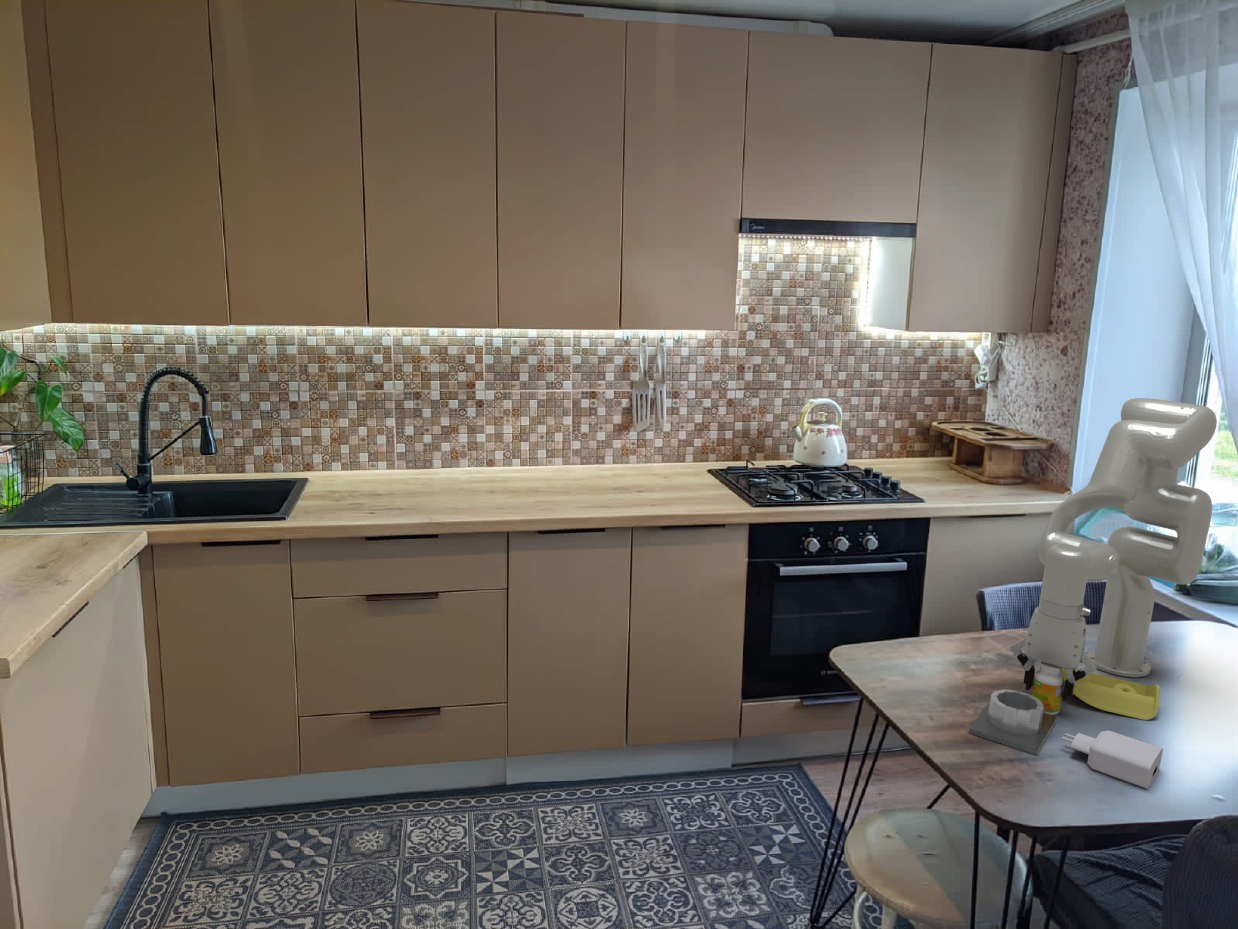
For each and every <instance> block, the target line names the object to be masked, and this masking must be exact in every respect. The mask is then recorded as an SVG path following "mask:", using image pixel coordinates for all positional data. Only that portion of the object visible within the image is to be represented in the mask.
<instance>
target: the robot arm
mask: <svg viewBox="0 0 1238 929" xmlns="http://www.w3.org/2000/svg"><path fill="white" fill-rule="evenodd" d="M1217 422H1218V420H1217V416H1216V413H1215V412H1214V410H1213V409H1212V408H1210V407H1208V406H1204V405H1200V404H1196V403H1195V404H1194V403H1188V402H1179V401H1171V400H1168V399H1167V400H1165V399H1157V398H1148V397H1136V398H1135V397H1134V398H1130V399H1129V400H1125V402H1124V403H1123V405H1122V407H1121V409H1120V421H1118V422H1115V423H1114V424H1113V425H1112V426H1111V428H1110V429H1109V431H1108V434H1107V436H1106V440H1104V444H1103V447H1102V449H1101V452H1100V454H1099V457H1098V459H1097V462H1096V465H1095V467H1094V470H1093V471H1092V475H1091V477H1090V479H1089V482H1088V484H1087V485H1086V486H1085V487H1083V488H1082V489H1080V490H1078V491H1077V492H1075V493H1072V495H1070V496H1068V497H1067V498H1065V500H1063V502H1061V503H1060V504H1059V505H1058V506H1057V507H1056V508H1055V509H1054V511H1052V513H1051V514H1050V516H1049V518H1048V521H1047V523H1046V526H1045V528H1044V531H1043V533H1042V535H1041V538H1040V542H1039V544H1038V551H1037V553H1038V554H1037V555H1038V558H1039V560H1040V562H1041V563H1042V564H1043V565H1044V568H1043V570H1044V571H1043V575H1042V576H1043V577H1042V582H1041V588H1040V589H1041V591H1040V596H1039V603H1038V606H1037V607H1035V608H1034V610H1033V612H1032V615H1031V619H1030V621H1029V622H1030V623H1029V626H1028V629H1027V634H1026V636H1025V637H1024V638H1022V639H1020V640H1019V641H1016V642H1015V643H1013V644H1012V645H1011V646H1010V651H1011V652H1012V653H1013V654H1014V656H1016V659H1017V660H1018V662H1020V664H1021V665H1022V668H1023V670H1024V675H1023V682H1022V683H1023V684H1025V690H1026V691H1030V690H1031V689H1032V688H1033V683H1034V676H1035V673H1036V667H1035V665H1034V664H1035V663H1036V661H1037V662H1040V663H1041V662H1044V663H1048V664H1051V665H1055V666H1059V667H1063V668H1065V671H1066V674H1067V680H1066V681H1065V684H1064V690H1063V694H1062V700H1061V701H1064V702H1067V701H1068V698H1069V697H1070V698H1072V696H1074V695H1073V690H1074V684H1075V681H1077V680H1079V679H1082V678H1084V677H1085V676H1087V675H1089V674H1091V673H1095V672H1096V671H1097V669H1098V670H1100V671H1102V672H1106V673H1108V674H1111V675H1114V674H1115V676H1119V677H1120V676H1121V677H1125V678H1143V677H1146V676H1148V675H1149V674H1151V667H1152V666H1151V664H1150V663H1149V662H1147V661H1146V660H1145V656H1146V650H1147V644H1148V639H1149V638H1148V637H1149V632H1150V628H1151V622H1152V616H1153V610H1154V605H1155V598H1156V594H1155V589H1154V585H1153V584H1152V582H1151V580H1150V579H1151V578H1154V579H1157V580H1161V581H1163V582H1164V581H1165V582H1169V583H1172V584H1176V585H1189V584H1191V583H1193V581H1195V579H1196V578H1197V577H1198V574H1199V572H1200V569H1201V565H1202V561H1203V558H1204V557H1203V556H1204V552H1205V548H1206V543H1207V539H1208V535H1209V531H1210V524H1211V523H1212V522H1211V520H1212V515H1213V502H1212V498H1211V497H1210V495H1209V494H1208V493H1207V492H1206V491H1204V490H1202V489H1200V488H1196V487H1192V486H1187V485H1181V484H1178V482H1177V479H1178V473H1179V469H1180V468H1182V467H1184V466H1185V465H1187V464H1188V463H1189V462H1190V461H1191V460H1193V458H1195V456H1197V454H1198V453H1200V451H1202V450H1203V449H1204V448H1205V447H1206V445H1208V444H1209V443H1210V441H1211V440H1212V438H1213V437H1214V434H1215V432H1216V428H1217V424H1218V423H1217ZM1120 506H1124V512H1125V515H1126V517H1128V518H1129V519H1130V520H1133V521H1135V522H1137V523H1138V522H1139V523H1141V524H1145V525H1150V526H1155V527H1159V528H1163V529H1168V530H1172V531H1175V532H1176V536H1173V535H1168V534H1164V533H1161V532H1157V531H1152V530H1148V529H1145V528H1139V527H1133V526H1125V527H1124V526H1123V527H1120V528H1117V529H1115V530H1114V531H1113V532H1112V533H1111V534H1110V536H1109V538H1108V541H1107V543H1103V542H1100V541H1098V540H1097V541H1096V540H1093V539H1088V538H1086V537H1085V538H1084V537H1081V536H1078V535H1073V534H1070V533H1067V531H1068V529H1069V527H1070V525H1071V524H1072V523H1073V522H1074V521H1075V520H1077V519H1078V518H1079V517H1081V516H1082V515H1085V514H1088V513H1090V512H1093V511H1097V510H1102V509H1106V508H1107V509H1108V508H1113V507H1120ZM1105 580H1106V584H1105V590H1104V595H1103V596H1104V598H1103V604H1102V609H1101V615H1100V620H1099V627H1098V628H1099V629H1098V633H1097V639H1096V646H1095V648H1094V649H1091V650H1089V651H1088V652H1087V653H1086V652H1085V648H1086V647H1085V646H1086V635H1087V634H1086V633H1087V631H1086V630H1087V628H1086V627H1087V625H1086V624H1087V623H1086V618H1085V616H1088V617H1089V616H1090V615H1091V610H1092V609H1091V608H1087V607H1086V606H1085V605H1084V604H1085V602H1084V599H1085V593H1086V586H1087V583H1091V582H1092V583H1093V582H1094V583H1095V582H1103V581H1105ZM1022 648H1024V650H1022ZM1081 663H1082V664H1083V665H1084V666H1085V667H1084V668H1080V669H1078V668H1079V667H1080V664H1081ZM1076 669H1077V670H1079V671H1076Z"/></svg>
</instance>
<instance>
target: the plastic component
mask: <svg viewBox="0 0 1238 929" xmlns="http://www.w3.org/2000/svg"><path fill="white" fill-rule="evenodd" d="M1079 670H1080V669H1078V668H1077V669H1076V671H1079ZM1061 675H1062V676H1063V677H1064V684H1065V681H1066V680H1067V674H1066V671H1065V668H1062V673H1061ZM1160 688H1161V687H1160V685H1159V684H1142V683H1138V682H1134V681H1129V680H1125V679H1121V678H1120V679H1119V678H1116V677H1111V676H1108V675H1103V674H1098V673H1095V672H1093V673H1091V674H1089V675H1087V676H1085V677H1084V678H1082V679H1079V680H1077V681H1075V684H1074V690H1073V695H1072V696H1075V697H1077V698H1078V699H1079V700H1080V701H1083V702H1084V703H1085V704H1087V705H1089V706H1091V707H1094V708H1096V709H1099V710H1101V711H1105V712H1108V713H1114V714H1118V715H1121V716H1126V717H1131V718H1136V719H1139V720H1142V719H1143V720H1144V721H1147V720H1148V721H1149V720H1152V719H1153V718H1155V717H1156V715H1157V714H1158V713H1159V706H1160V705H1159V704H1160V692H1161V690H1160ZM1063 690H1064V687H1063Z"/></svg>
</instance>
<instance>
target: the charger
mask: <svg viewBox="0 0 1238 929" xmlns="http://www.w3.org/2000/svg"><path fill="white" fill-rule="evenodd" d="M1061 739H1062V740H1064V741H1067V742H1070V743H1071V745H1070V749H1071V750H1075V751H1078V752H1081V753H1084V754H1086V755H1088V757H1087V762H1086V763H1087V765H1088V766H1089V767H1090V769H1092V770H1095V771H1097V772H1100V773H1102V774H1105V775H1108V776H1111V777H1113V778H1116V779H1119V780H1122V781H1125V782H1128V783H1130V784H1132V785H1136V786H1138V787H1141V788H1144V789H1147V790H1148V789H1149V787H1150V785H1151V784H1152V782H1153V780H1154V779H1155V778H1156V776H1157V774H1158V772H1159V771H1160V766H1161V762H1162V757H1163V750H1164V749H1163V747H1159V746H1157V745H1153V744H1150V743H1147V742H1144V741H1142V740H1137V739H1136V738H1133V737H1129V736H1127V735H1124V734H1120V733H1118V732H1115V731H1112V730H1109V729H1108V730H1103V731H1100V732H1099V733H1098V735H1097V736H1096V737H1095V738H1094V737H1092V736H1089V735H1085V734H1083V733H1080V732H1078V733H1077V734H1076V735H1072V734H1069V733H1064V736H1061Z"/></svg>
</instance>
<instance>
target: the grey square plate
mask: <svg viewBox="0 0 1238 929" xmlns="http://www.w3.org/2000/svg"><path fill="white" fill-rule="evenodd" d="M1043 709H1044V705H1043V704H1042V702H1041V701H1040V700H1039V699H1037V698H1035V697H1034V696H1032V694H1030V693H1027V692H1023V691H1020V690H1014V689H1013V690H1012V689H1005V688H1003V689H999V690H994V691H993V692H992V693H991V695H990V697H989V702H988V703H987V705H986V706H985V707H984V708H983V710H982V711H981V712H980V714H979V715H978V716H977V718H975V720H974V721H973V723H972V724H970V725H971V726H969V728H968V734H970V733H971V734H970V735H974V736H975V737H979V736H980V738H983V739H986V740H988V739H989V741H992V742H995V743H998V744H1000V743H1001V745H1004V746H1007V747H1009V748H1014V749H1016V750H1019V751H1023V752H1024V753H1025V752H1026V753H1028V754H1030V755H1034V756H1038V754H1039V752H1040V750H1041V749H1042V747H1043V745H1044V744H1045V742H1046V740H1047V738H1048V737H1049V736H1050V734H1051V731H1052V730H1053V729H1054V727H1055V724H1056V723H1057V720H1058V716H1055V715H1050V714H1046V713H1043Z"/></svg>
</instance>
